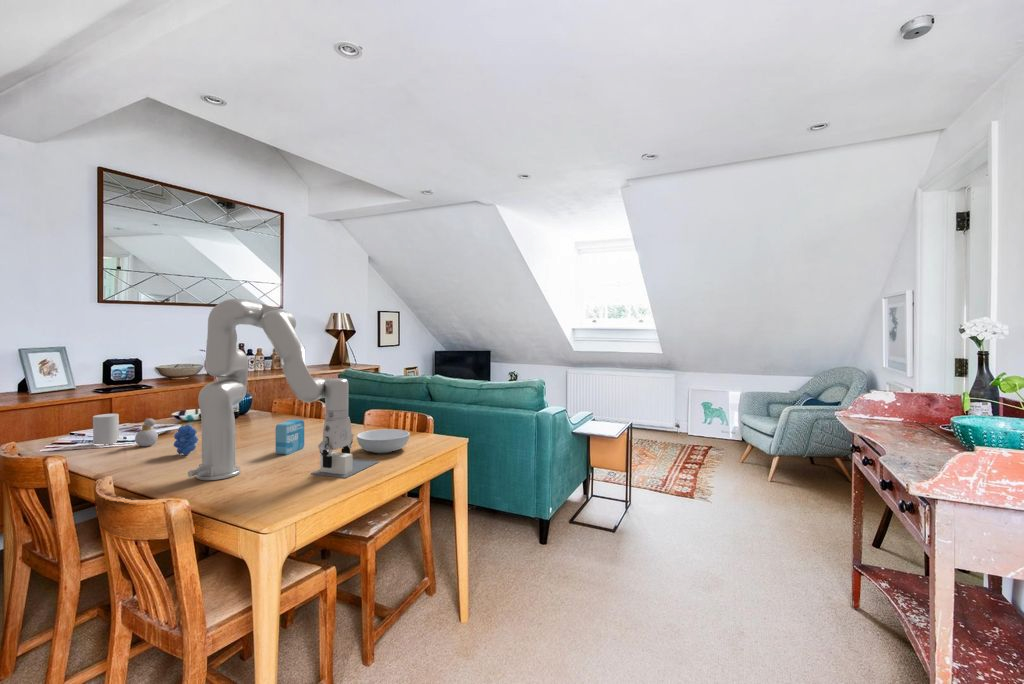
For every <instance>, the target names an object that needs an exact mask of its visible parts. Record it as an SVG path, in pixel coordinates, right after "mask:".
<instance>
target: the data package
mask: <svg viewBox="0 0 1024 684" xmlns="http://www.w3.org/2000/svg"><path fill="white" fill-rule="evenodd" d="M303 448H305V421H304V419H295V418H294V419H289V420H287V421H284V422H280V423H277V424H276V426H275V454H276V455H284V456H285V455H290V454H293V453H295V452H298V451H301V450H302V449H303Z"/></svg>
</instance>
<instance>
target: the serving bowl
mask: <svg viewBox="0 0 1024 684" xmlns="http://www.w3.org/2000/svg"><path fill="white" fill-rule="evenodd" d="M410 435H411V434H410V432H409V431H407V430H404V429H397V428H395V429H393V428H391V429H390V428H389V429H388V428H385V429H380V428H379V429H372V430H367V431H363V432H360V433H357V435H356V440H357V443H358V445H359V447H361V448H362V450H365V451H368V452H371V453H374V454H375V453H376V454H388V453H389V454H390V453H392V451H393V452H394V451H398V450H400V449H402V448H403V447H405V446H406V445H407V444H408V442H409V440H410Z"/></svg>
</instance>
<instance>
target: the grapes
mask: <svg viewBox="0 0 1024 684" xmlns="http://www.w3.org/2000/svg"><path fill="white" fill-rule="evenodd" d="M197 433H198V431H197V429H196V428H193V426H192V425H191V424H186V425H181V426H179V427H178V429H177V432H176V433H174V436H173V438H174V439H175V441H174V443H173V446H174V447H175V448H177V449H176V453H178V454H182V455H184V456H188V455H189V454H191V452H193V451H195V449H196V448H197V446H196V445H197V443H198V441H199V437H198V436H197Z"/></svg>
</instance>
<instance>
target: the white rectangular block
mask: <svg viewBox="0 0 1024 684" xmlns="http://www.w3.org/2000/svg"><path fill="white" fill-rule="evenodd" d="M319 456H320V459H319V462H320V472H328V473H336V474H344V475H345V474H348V473H350V472H352V458H353V453H350V454H347V453H342V452H336V451H332V453H331V455H330V456H332V467H331V468H324V467H323V456H322V455H321V453H320V455H319Z"/></svg>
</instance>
